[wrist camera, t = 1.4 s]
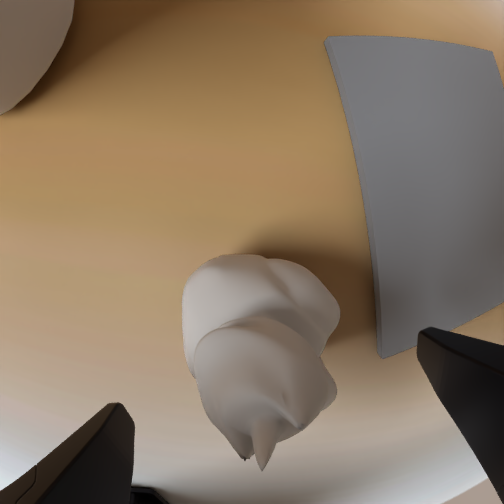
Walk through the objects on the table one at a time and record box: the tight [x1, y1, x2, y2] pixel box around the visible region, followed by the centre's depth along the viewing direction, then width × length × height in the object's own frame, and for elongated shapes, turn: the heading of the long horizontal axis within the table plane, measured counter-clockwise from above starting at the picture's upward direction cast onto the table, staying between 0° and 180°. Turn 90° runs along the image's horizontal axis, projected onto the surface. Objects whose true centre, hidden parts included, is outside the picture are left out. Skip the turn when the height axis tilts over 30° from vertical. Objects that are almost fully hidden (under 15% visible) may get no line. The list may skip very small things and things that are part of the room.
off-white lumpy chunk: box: [182, 254, 340, 471], centre depth 8 cm, size 5×7×8 cm
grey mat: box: [324, 36, 504, 359], centre depth 11 cm, size 14×10×1 cm
